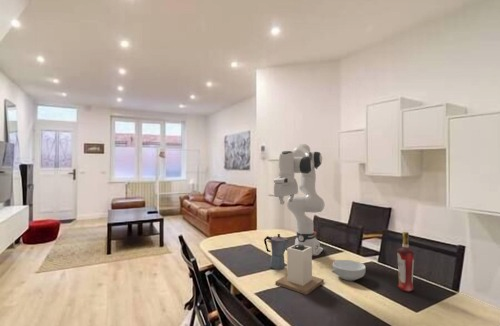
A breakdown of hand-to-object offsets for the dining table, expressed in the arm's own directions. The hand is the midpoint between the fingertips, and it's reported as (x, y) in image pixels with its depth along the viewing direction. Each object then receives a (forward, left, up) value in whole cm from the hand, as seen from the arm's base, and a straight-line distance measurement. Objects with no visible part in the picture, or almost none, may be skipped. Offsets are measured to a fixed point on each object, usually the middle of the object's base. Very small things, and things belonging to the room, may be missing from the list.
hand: (286, 203), depth 165 cm
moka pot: (-1, -8, -39) cm, 40 cm away
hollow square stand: (+10, +14, -39) cm, 43 cm away
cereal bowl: (-13, +31, -39) cm, 52 cm away
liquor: (-16, +58, -39) cm, 72 cm away
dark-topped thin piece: (+10, +14, -36) cm, 40 cm away
